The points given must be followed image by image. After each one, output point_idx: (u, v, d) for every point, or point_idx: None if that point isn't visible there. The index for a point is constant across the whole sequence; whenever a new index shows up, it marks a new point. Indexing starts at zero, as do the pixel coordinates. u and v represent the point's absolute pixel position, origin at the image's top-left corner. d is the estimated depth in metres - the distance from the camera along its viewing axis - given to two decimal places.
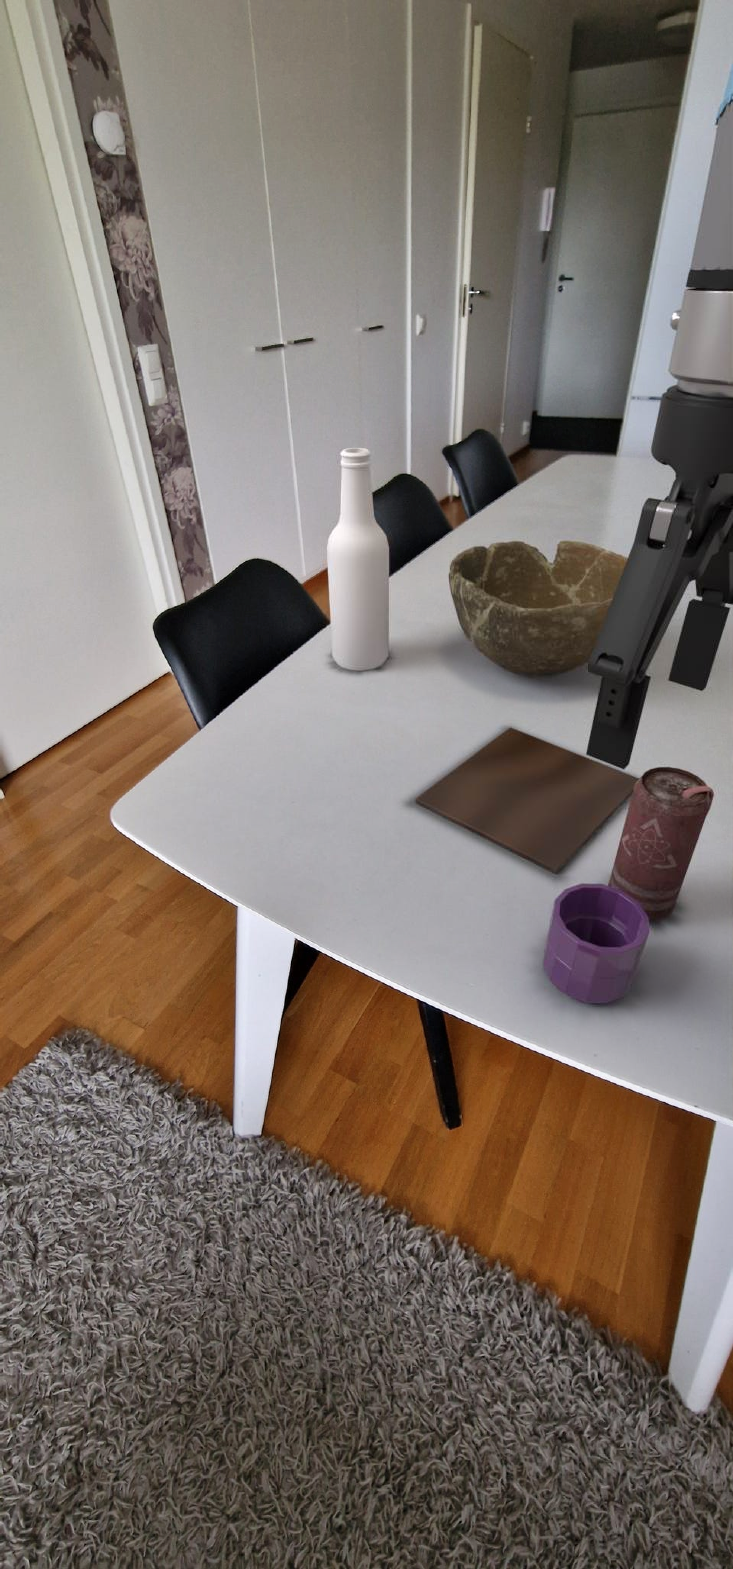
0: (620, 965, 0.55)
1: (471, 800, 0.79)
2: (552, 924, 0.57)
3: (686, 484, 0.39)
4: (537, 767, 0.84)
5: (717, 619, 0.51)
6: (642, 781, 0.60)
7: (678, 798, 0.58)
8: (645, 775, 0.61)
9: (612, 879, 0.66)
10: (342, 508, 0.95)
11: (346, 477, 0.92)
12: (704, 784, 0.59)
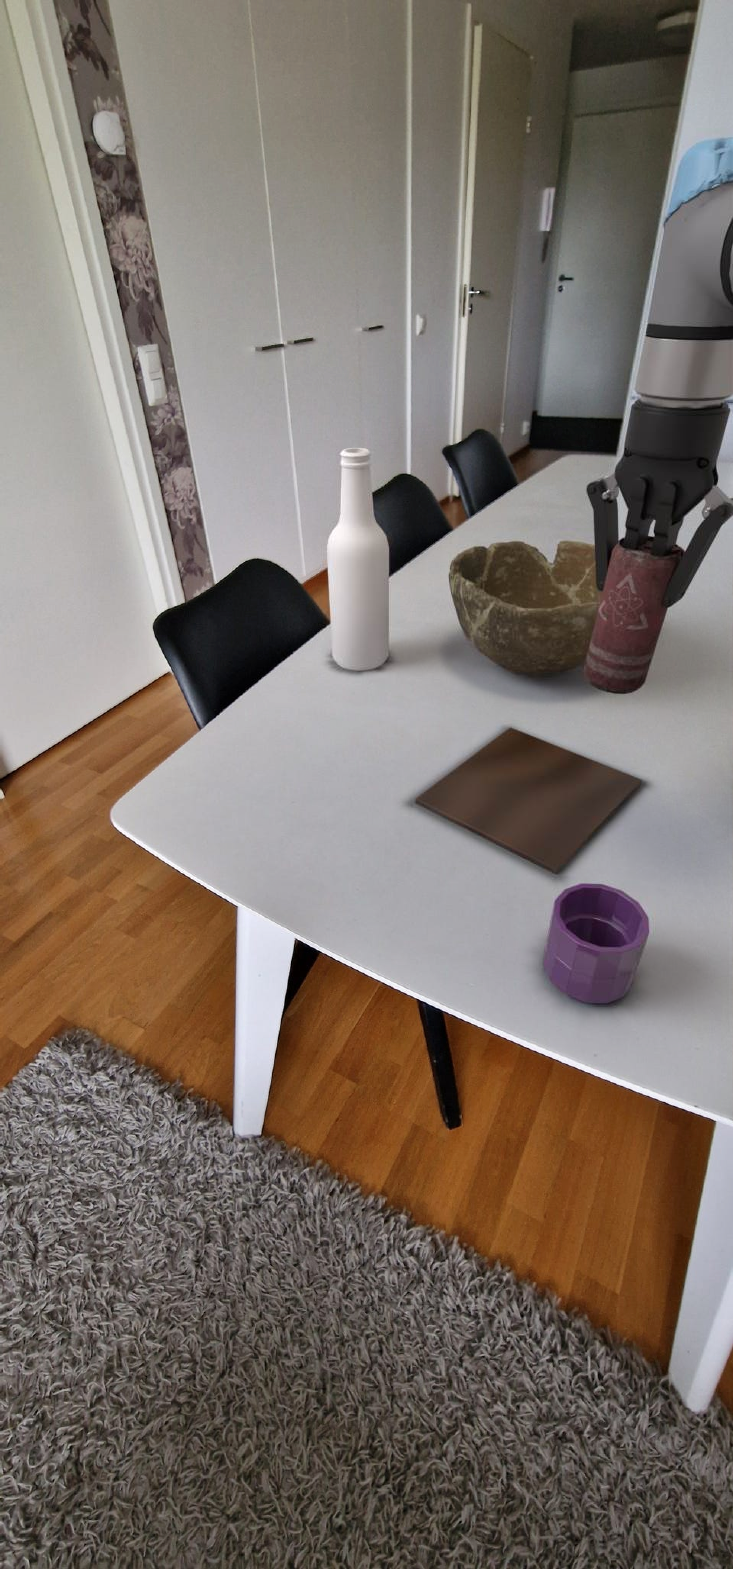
0: (620, 965, 0.55)
1: (471, 800, 0.79)
2: (552, 924, 0.57)
3: None
4: (537, 767, 0.84)
5: None
6: (619, 544, 0.64)
7: (652, 555, 0.62)
8: (622, 541, 0.65)
9: (588, 654, 0.70)
10: (342, 508, 0.95)
11: (346, 477, 0.92)
12: (677, 547, 0.64)
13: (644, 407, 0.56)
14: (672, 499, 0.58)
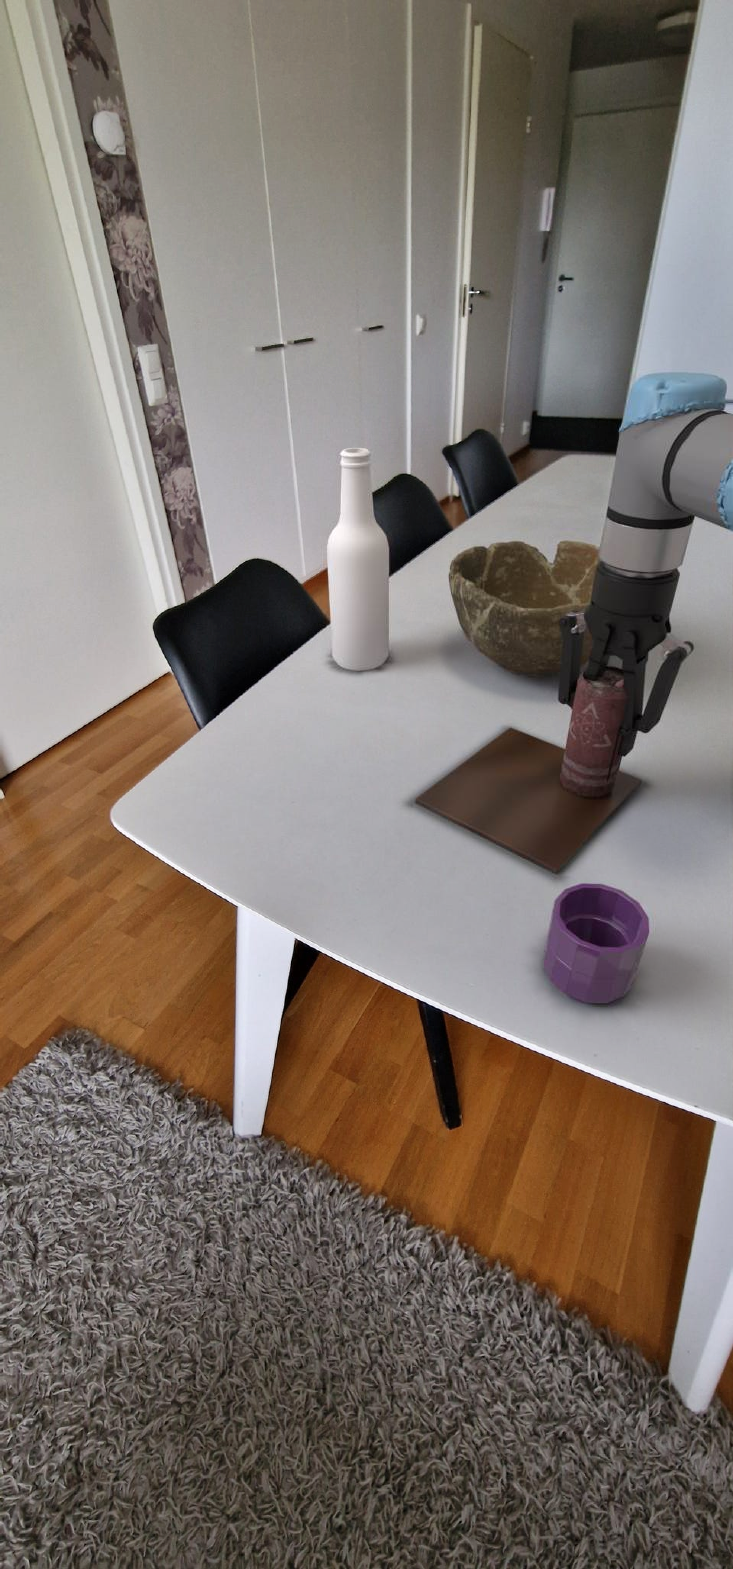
0: (620, 965, 0.55)
1: (471, 800, 0.79)
2: (552, 924, 0.57)
3: None
4: (537, 767, 0.84)
5: None
6: (583, 675, 0.74)
7: (611, 686, 0.72)
8: None
9: (563, 764, 0.80)
10: (342, 508, 0.95)
11: (346, 477, 0.92)
12: None
13: (606, 573, 0.65)
14: (632, 645, 0.68)
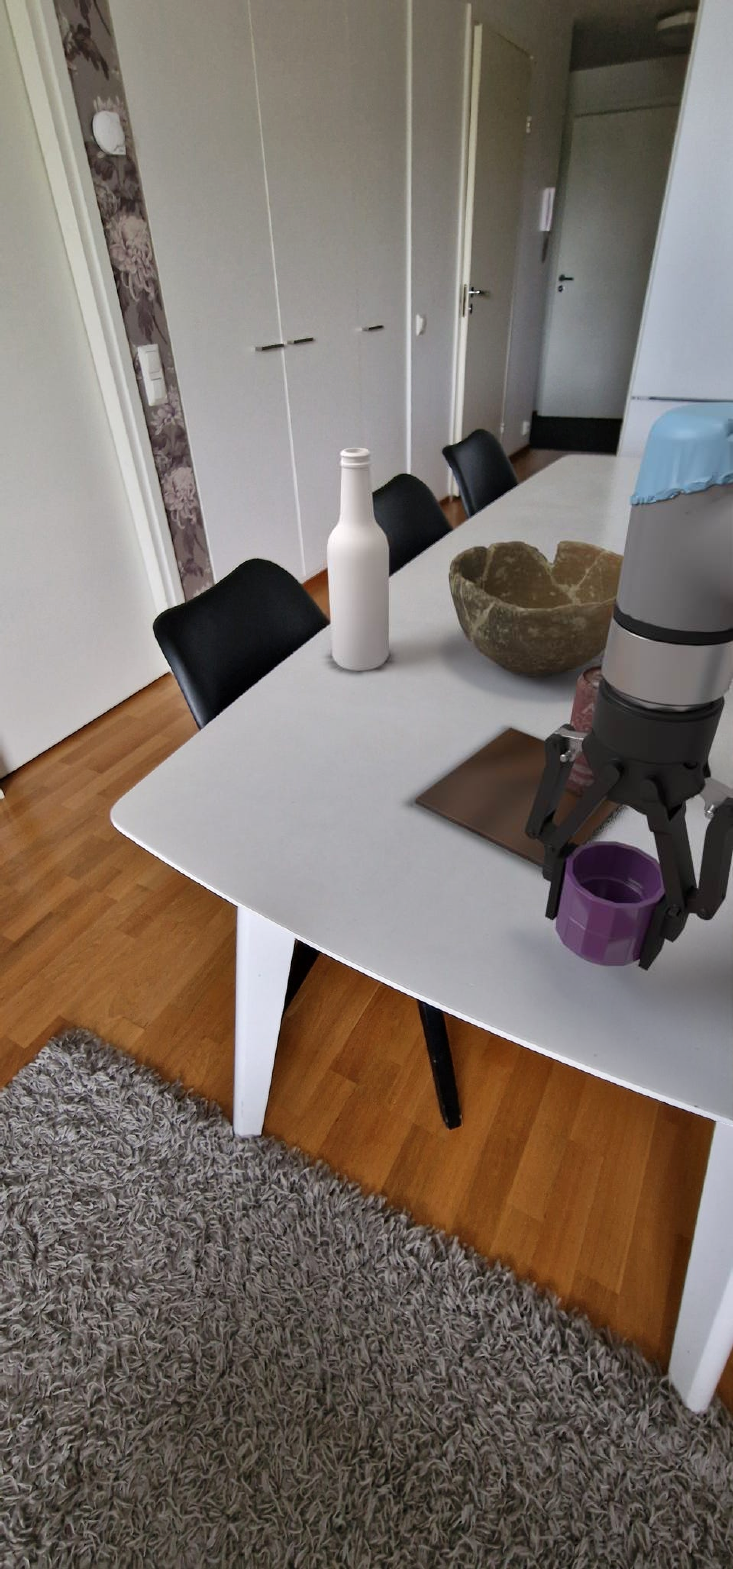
0: (638, 923, 0.52)
1: (471, 800, 0.79)
2: (564, 882, 0.54)
3: None
4: (537, 767, 0.84)
5: None
6: (583, 675, 0.74)
7: None
8: (586, 671, 0.75)
9: None
10: (342, 508, 0.95)
11: (346, 477, 0.92)
12: None
13: (613, 699, 0.43)
14: (653, 797, 0.46)
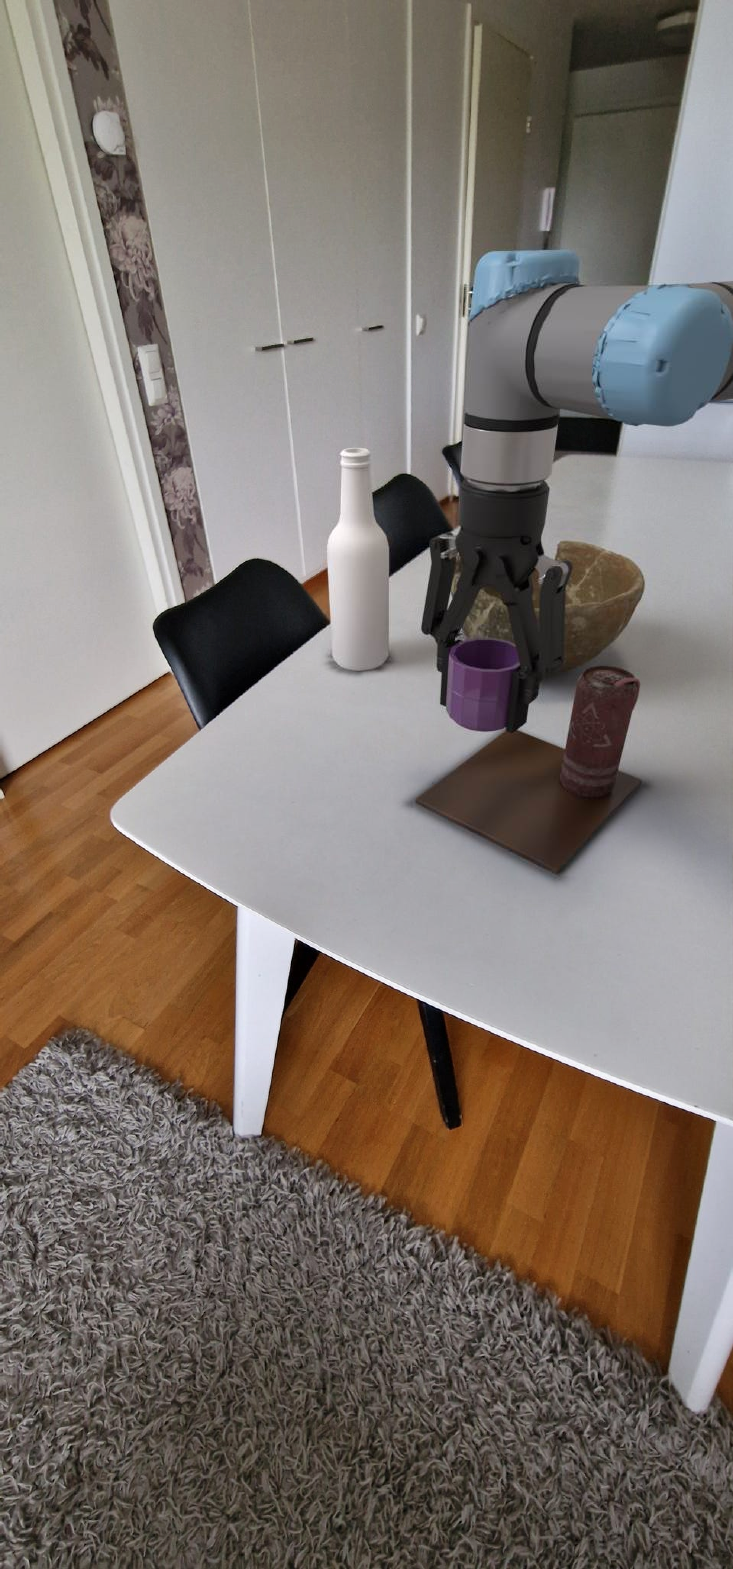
0: (500, 687, 0.67)
1: (471, 800, 0.79)
2: (449, 663, 0.69)
3: None
4: (537, 767, 0.84)
5: None
6: (583, 675, 0.74)
7: (610, 686, 0.72)
8: (586, 671, 0.75)
9: (563, 764, 0.80)
10: (342, 508, 0.95)
11: (346, 477, 0.92)
12: (633, 677, 0.74)
13: (467, 488, 0.58)
14: (502, 572, 0.61)
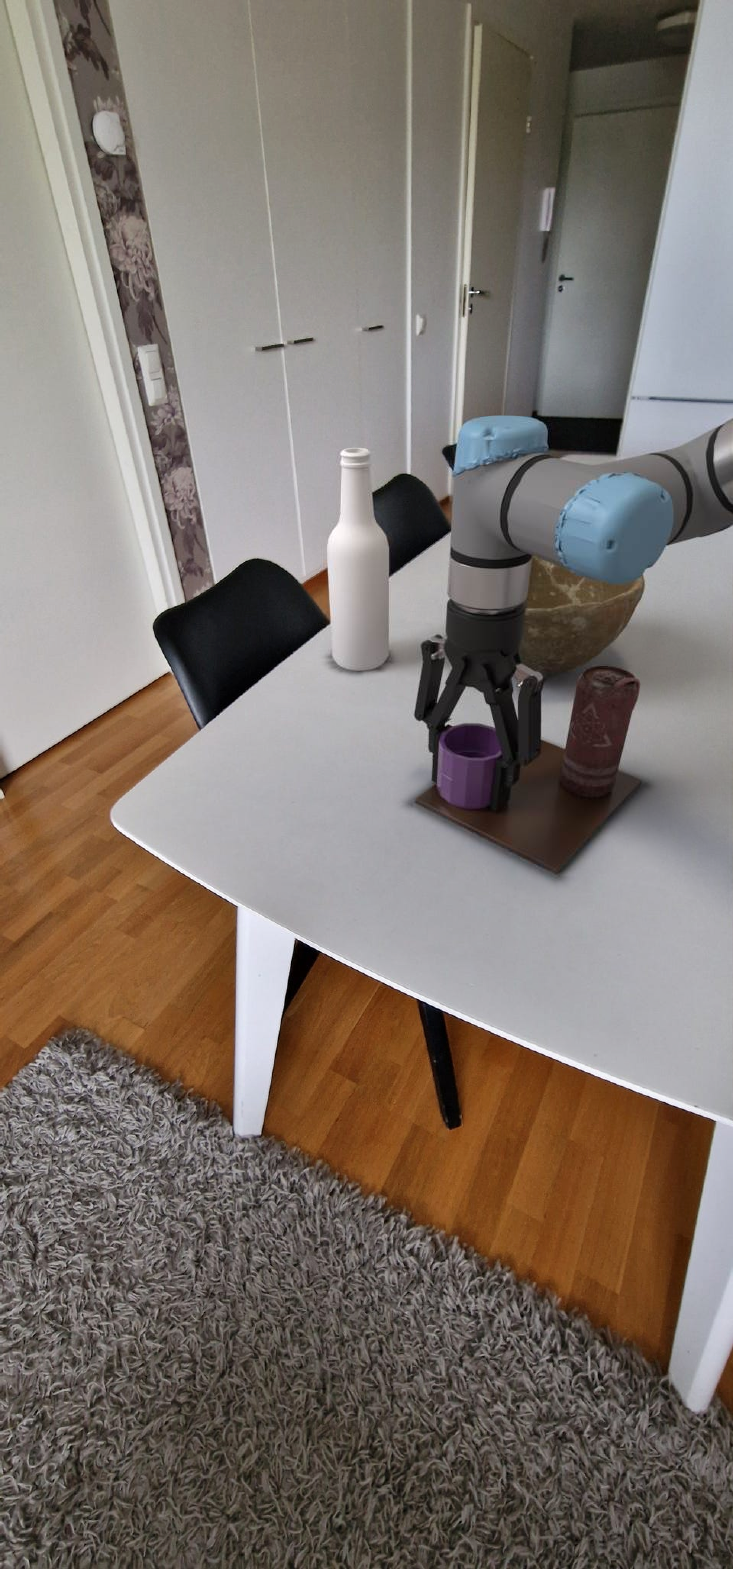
0: (485, 773, 0.75)
1: None
2: (439, 749, 0.77)
3: None
4: (537, 767, 0.84)
5: None
6: (583, 675, 0.74)
7: (610, 686, 0.72)
8: (586, 671, 0.75)
9: (563, 764, 0.80)
10: (342, 508, 0.95)
11: (346, 477, 0.92)
12: (633, 677, 0.74)
13: (453, 608, 0.66)
14: (484, 678, 0.69)
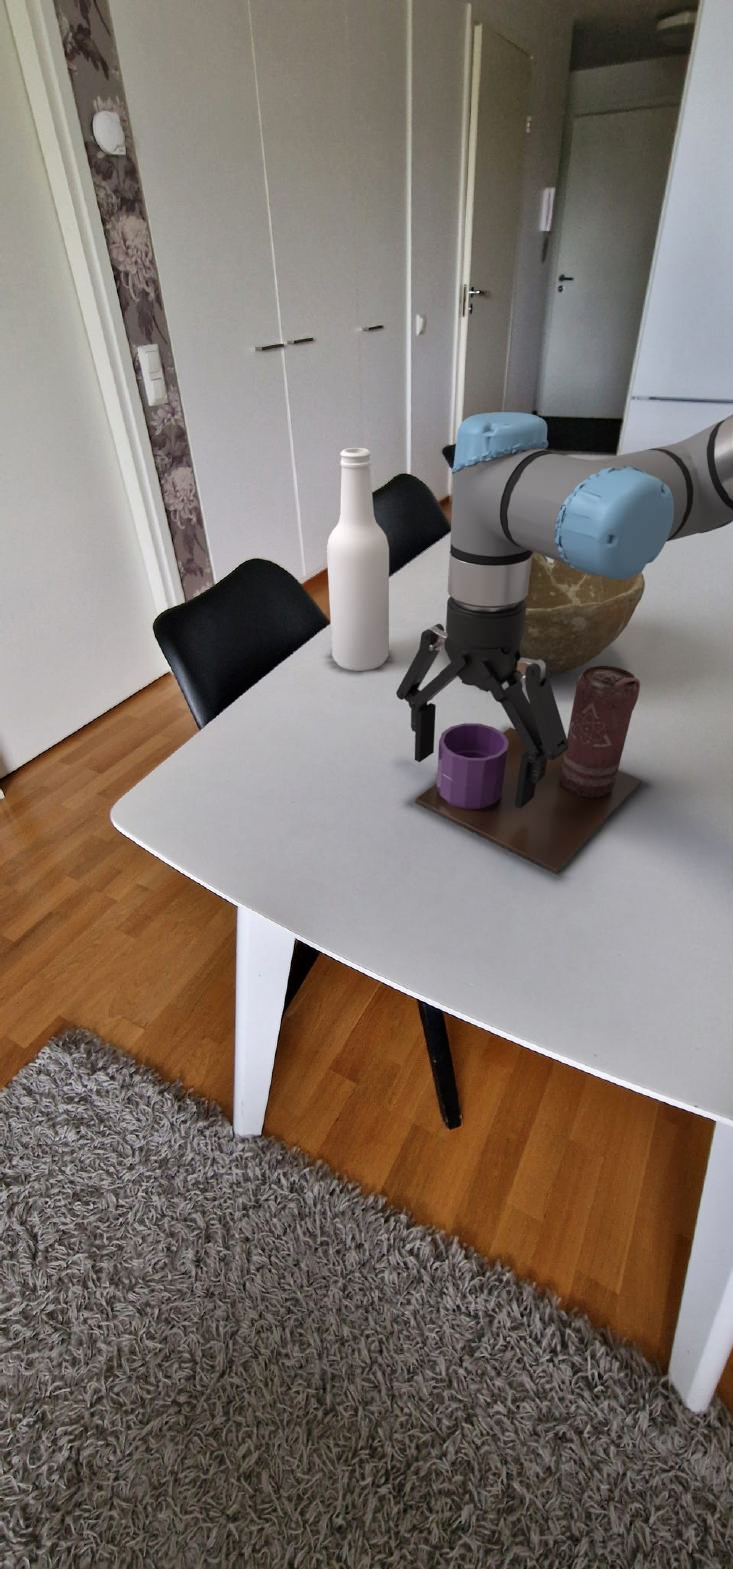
0: (485, 773, 0.75)
1: None
2: (439, 749, 0.77)
3: None
4: None
5: None
6: (583, 675, 0.74)
7: (610, 686, 0.72)
8: (586, 671, 0.75)
9: (563, 764, 0.80)
10: (342, 508, 0.95)
11: (346, 477, 0.92)
12: (633, 677, 0.74)
13: (453, 606, 0.66)
14: (485, 675, 0.69)
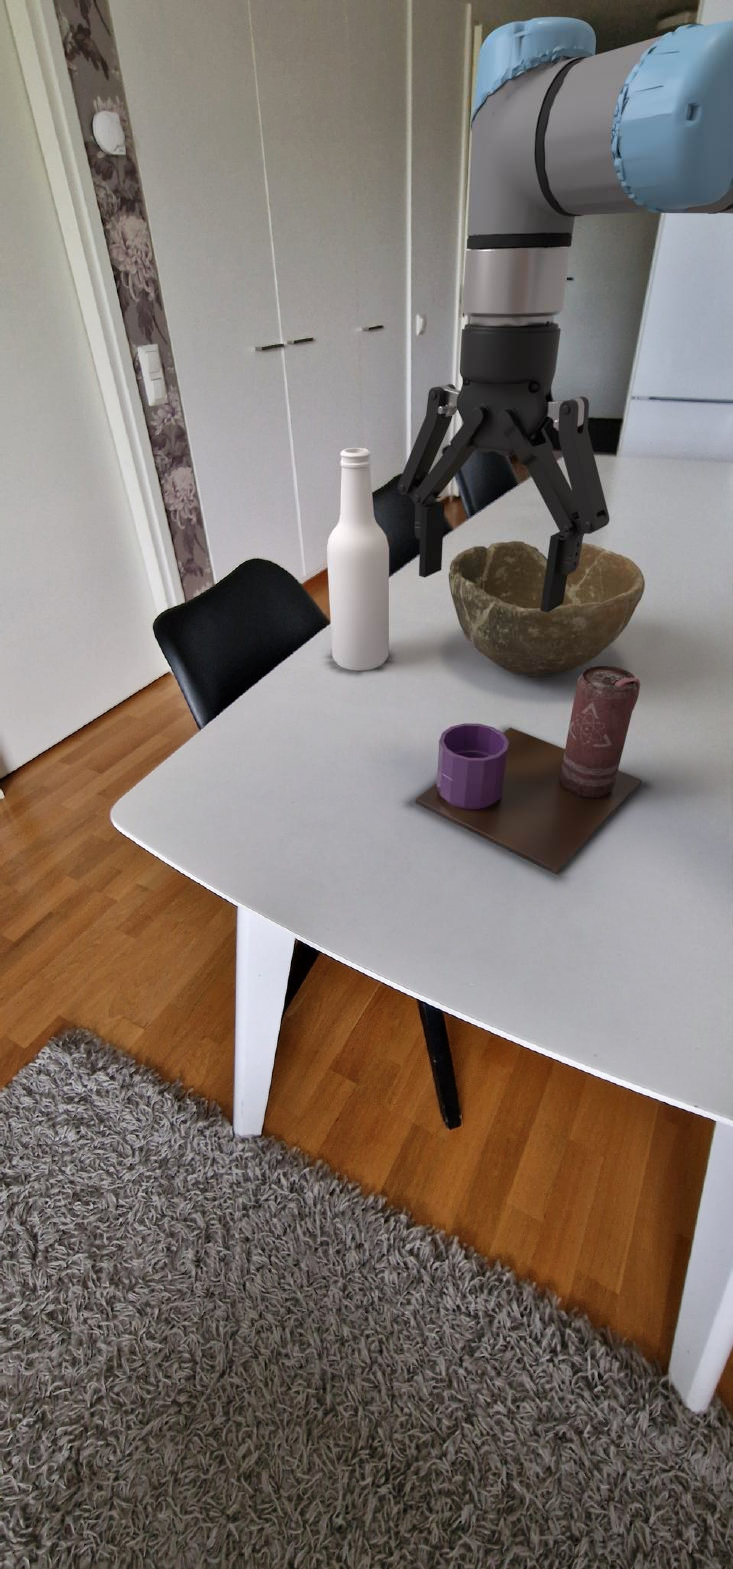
0: (485, 773, 0.75)
1: None
2: (439, 749, 0.77)
3: None
4: (537, 767, 0.84)
5: None
6: (583, 675, 0.74)
7: (610, 686, 0.72)
8: (586, 671, 0.75)
9: (563, 764, 0.80)
10: (342, 508, 0.95)
11: (346, 477, 0.92)
12: (633, 677, 0.74)
13: (469, 328, 0.53)
14: (508, 428, 0.56)
